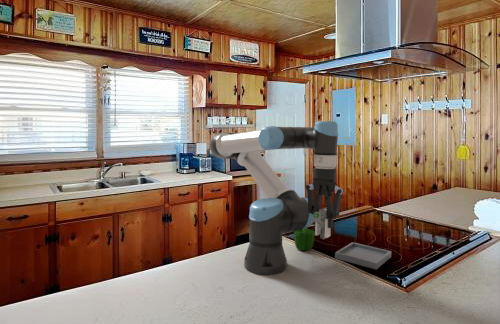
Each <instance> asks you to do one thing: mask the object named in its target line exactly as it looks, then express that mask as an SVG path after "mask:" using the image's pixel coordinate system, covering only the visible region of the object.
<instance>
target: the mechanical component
mask: <svg viewBox="0 0 500 324" xmlns="http://www.w3.org/2000/svg"><path fill="white" fill-rule="evenodd" d="M325 218H327V208H326V207H323V208H320V209H319V212H315V213H314V214H313V221H314V222H317V223H320V224H319V226H320V227H321V229H320V236H319V239H322V240H326V238H325Z"/></svg>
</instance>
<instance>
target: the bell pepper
mask: <svg viewBox="0 0 500 324" xmlns="http://www.w3.org/2000/svg"><path fill="white" fill-rule="evenodd" d="M293 239H294V244H295V245H294V246H295V248H296V249H297V250H298V251H311V250H312V249H313V247H314V243H315V230H313V229H309V228H308V227H307V228H304V229H303V230H297V231H293Z"/></svg>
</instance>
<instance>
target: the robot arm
mask: <svg viewBox="0 0 500 324" xmlns="http://www.w3.org/2000/svg"><path fill="white" fill-rule="evenodd" d="M338 126H339V125H338V123H337V122H336V121H334V120H333V121H332V120H329V121H328V120H320V121H315V123H314V126H313V127H312V126H311V127H309V126H307V127H306V126H305V127H304V126H275V125H270V126H264V127H262V128H261V129H254V130H250V131H249V130H248V131H242V132H224V131H223V132H219V133H217V134H215V135H213V136H212V137H211V139H210V141H209V149H210V151H211V152H210V153H212V155H214V157H216V158H218V159H222V160H232V159H234V160H235V161H236V163H237V164H238V165H240V166H242V167H244V168H245V169H246V171H248V173H249V174H250V177H252V178H253V180H254V181H255V182H256V184H257V186H259V188H260V189H261V191H262V192H263V194H264V195H265V196H266V198H260V199H257V200H255V201H253V202H252V203H251V204H250V206H249V215H248V219H249V234H248V236H249V239H248V240H249V243H248V248H247V250H246V254H245V257H244V261H243V263H244V264H243V265H244V268H245V269H246V270H247V271H249V272H250V273H254V274H257V275H275V274H280V273H282V272H284V271H286V270H287V268H288V259H287V257H286V253H285V250H284V246H283V235H284V234H288V233H294V232H295V231H297V230H303V229H304V228H307V229H308V228H309V227H310V226H312V224H313V225H314V226H315V228H314V229H315V230H314V236H319V235H320V229H321V227H320V226H319V224H320V223H317V222H314V221H313V214H314V213H315V212H319V209H321V208H322V201H323V197H324V199H325V208H327V218H325V239H328V238H329V237H331V229H332V228H334V219H335V218H339V216H340V213H341V211H340V210H341V203H342V197H343V196H342V195H343V194H344V191H345V189H344V188H343V187H342V188H341V187H339V186H338V184H337V182H336V181H337V168H336V167H337V161H338V159H337V158H338V157H337V155H338V136H339V131H338V130H339V129H338ZM290 149H291V150H296V149H298V150H299V149H311V150H313V166H314V167H313V168H312V169H313V171H312V175H313V176H312V177H313V181H312V183H310V184H306V185H305V189H306V193H307V197H303V196H302V197H301V196H299V194H298V193H297V192H296V191H295V190H294V189H289V188H288V187H287V186H286V184H285V183H284V182H283V181H282V180H281V179H280V176H278V174H276V172H275V171H274V170H273V168H272V166H270V164H269V163H268V161H266V160H265V158H264V157H263V156H262V154H261V152H262V151H273V150H290ZM314 190H315V191H314ZM333 192H334V193H335V195H334V196H333ZM333 197H334V201H333Z"/></svg>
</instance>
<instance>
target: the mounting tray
mask: <svg viewBox="0 0 500 324" xmlns="http://www.w3.org/2000/svg"><path fill="white" fill-rule="evenodd" d="M391 258H392V251H391V250H387V249H383V248H378V247H374V246H370V245H367V244H366V245H365V244H361V243H358V242H351V243H348V245H345V246H344V247H342V248H341V249H338V250H337V251H336V252H334V259H337V260H340V261H344V262H347V263H352V264H354V265H358V266H362V267H366V268H369V269H372V270H373V269H374V270H378V269H379V268H381V266H382V265H384V264H385V263H386V262H388V260H389V259H391Z"/></svg>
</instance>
